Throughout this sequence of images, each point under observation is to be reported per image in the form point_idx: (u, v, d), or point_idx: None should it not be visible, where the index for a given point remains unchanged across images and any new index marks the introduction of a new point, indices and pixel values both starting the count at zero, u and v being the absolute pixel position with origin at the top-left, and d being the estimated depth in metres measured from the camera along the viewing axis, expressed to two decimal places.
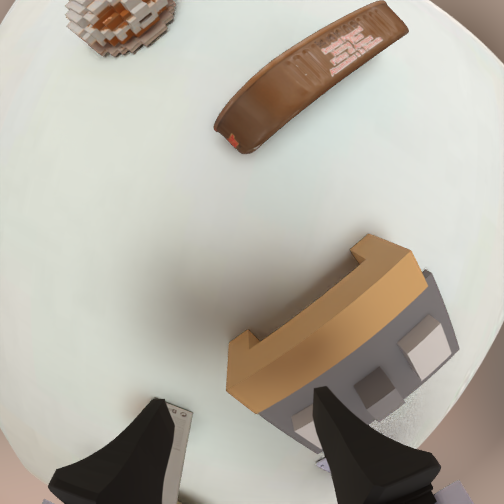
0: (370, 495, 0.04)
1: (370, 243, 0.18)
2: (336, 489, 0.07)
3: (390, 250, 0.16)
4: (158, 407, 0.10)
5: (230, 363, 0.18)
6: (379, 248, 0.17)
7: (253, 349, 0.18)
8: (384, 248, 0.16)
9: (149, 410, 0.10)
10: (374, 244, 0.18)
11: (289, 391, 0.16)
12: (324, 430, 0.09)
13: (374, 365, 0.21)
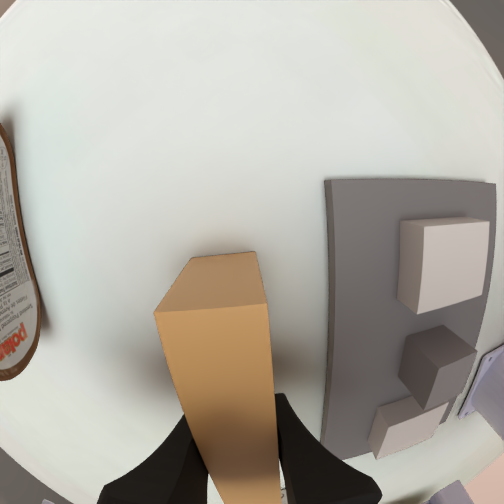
0: None
1: None
2: (287, 498, 0.07)
3: None
4: None
5: None
6: None
7: None
8: None
9: None
10: None
11: (275, 495, 0.09)
12: None
13: (397, 343, 0.13)
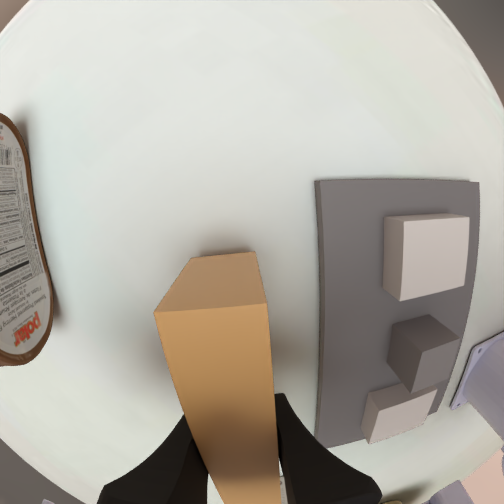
0: None
1: None
2: (287, 498, 0.07)
3: None
4: None
5: None
6: None
7: None
8: None
9: None
10: None
11: (275, 494, 0.09)
12: (277, 438, 0.09)
13: (384, 330, 0.15)
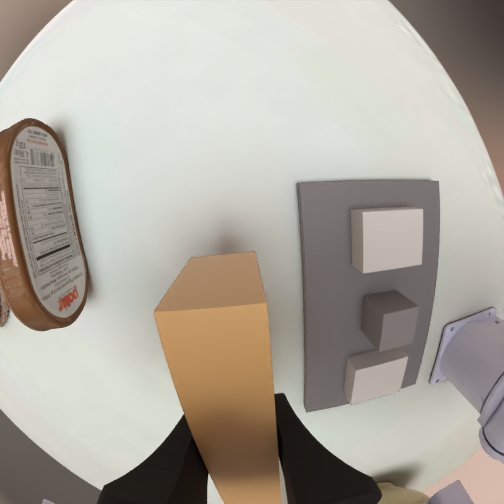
0: None
1: None
2: (287, 498, 0.07)
3: None
4: None
5: None
6: None
7: None
8: None
9: None
10: None
11: (275, 494, 0.09)
12: (277, 438, 0.09)
13: (356, 300, 0.19)
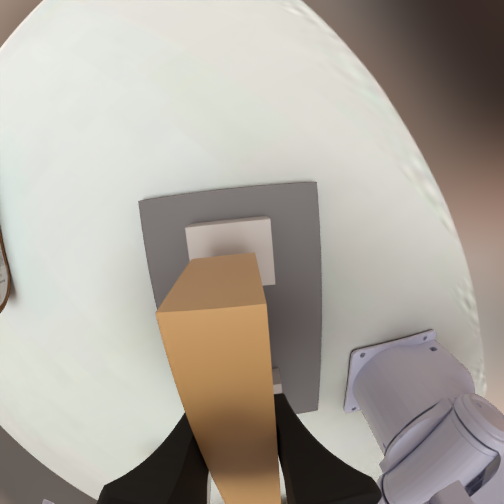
0: None
1: None
2: (287, 498, 0.07)
3: None
4: None
5: None
6: None
7: None
8: None
9: None
10: None
11: (275, 493, 0.10)
12: (277, 438, 0.09)
13: None
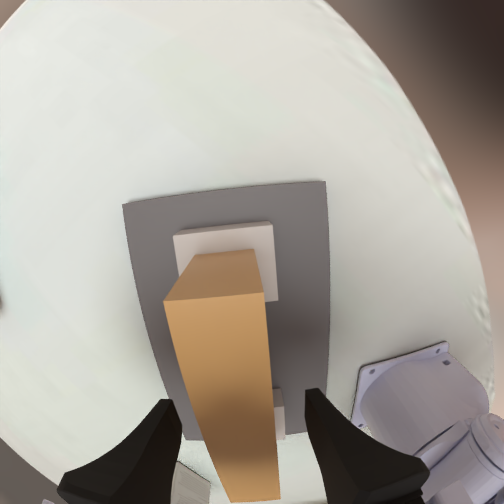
0: (356, 499, 0.04)
1: None
2: (326, 491, 0.07)
3: None
4: (166, 407, 0.10)
5: None
6: None
7: None
8: None
9: (157, 411, 0.10)
10: None
11: (274, 481, 0.10)
12: (315, 432, 0.09)
13: None
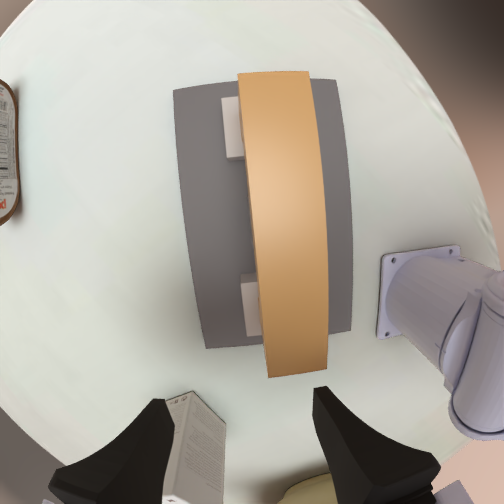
0: (370, 495, 0.04)
1: (239, 116, 0.14)
2: (336, 489, 0.07)
3: None
4: (158, 407, 0.10)
5: (264, 344, 0.15)
6: (240, 109, 0.13)
7: (260, 314, 0.15)
8: (239, 104, 0.12)
9: (149, 410, 0.10)
10: (239, 112, 0.13)
11: (323, 320, 0.12)
12: (324, 430, 0.10)
13: (239, 201, 0.19)
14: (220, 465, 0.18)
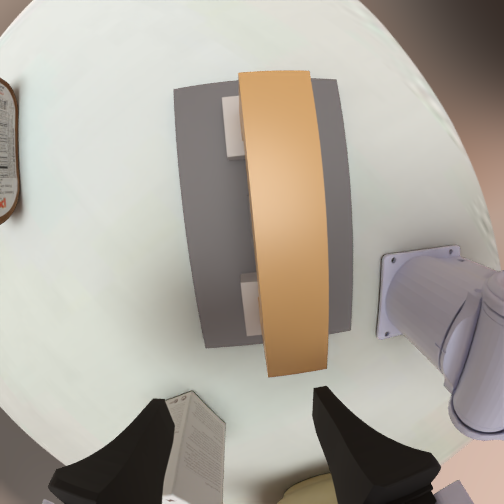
0: (370, 495, 0.04)
1: None
2: (336, 489, 0.07)
3: (239, 97, 0.11)
4: (158, 407, 0.10)
5: (264, 344, 0.15)
6: None
7: (260, 313, 0.15)
8: None
9: (149, 410, 0.10)
10: None
11: (323, 319, 0.12)
12: (324, 430, 0.10)
13: (239, 200, 0.19)
14: (220, 465, 0.18)
